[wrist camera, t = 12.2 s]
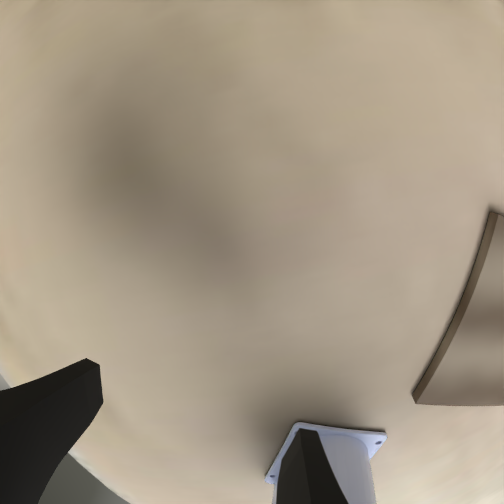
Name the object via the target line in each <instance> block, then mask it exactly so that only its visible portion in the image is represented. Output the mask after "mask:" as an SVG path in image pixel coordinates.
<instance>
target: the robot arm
mask: <svg viewBox="0 0 504 504" xmlns="http://www.w3.org/2000/svg"><path fill="white" fill-rule="evenodd" d="M102 404H103V395H102V386H101V376H100V365H99V364H97V363H95V362H93V361H91V360H89V359H87V358H86V359H83V360H81V361H78V362H76V363H74V364H72V365H69V366H67V367H65V368H63V369H60V370H58V371H56V372H53V373H51V374H49V375H46V376H44V377H41V378H39V379H36V380H34V381H31V382H28V383H25V384H22V385H19V386H16V387H13V388H10V389H6V390H2V391H0V504H38V501H39V499H40V497H41V495H42V493H43V491H44V489H45V487H46V485H47V483H48V481H49V480H50V478H51V476H52V475H53V473H54V471H55V469H56V468H57V466H58V464H59V463H60V462H61V460H62V459H63V457H64V456H65V455H66V454H67V453H68V451H69V450H70V449H71V448H72V446H73V445H74V444H75V443H76V441H77V440H78V439H79V438H80V436H81V435H82V434H83V433H84V431H85V430H86V429H87V428H88V426H89V425H90V424H91V422H92V421H93V419H94V418H95V416H96V414H97V413H98V411H99V409H100V407H101V406H102ZM386 439H387V434H386V433H384V432H373V431H361V430H352V429H343V428H335V427H328V426H321V425H315V424H308V423H303V422H298V423H295V424H294V425H293V427H292V429H291V431H290V433H289V435H288V437H287V439H286V441H285V442H284V444H283V446H282V448H281V450H280V452H279V454H278V455H277V457H276V459H275V461H274V463H273V464H272V466H271V468H270V470H269V471H268V473H267V475H266V477H265V482H267V483H270V484H274V492H273V500H272V504H376V496H375V490H374V483H373V477H372V471H371V465H370V459H371V458H372V457H373V455H374V454H375V453H376V452H377V451H378V449H379V448H380V447H381V445H382V444H383V443H384V442H385V440H386Z"/></svg>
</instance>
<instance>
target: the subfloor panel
mask: <svg viewBox="0 0 504 504" xmlns="http://www.w3.org/2000/svg"><path fill="white" fill-rule="evenodd" d="M412 397H413V399H414V401H415V404H426V405H445V406H501V405H504V217H503V216H501V215H499V214H496V213H492V212H490V214H489V218H488V222H487V225H486V229H485V233H484V236H483V240H482V243H481V246H480V249H479V253H478V256H477V259H476V262H475V265H474V268H473V270H472V273H471V276H470V279H469V281H468V284H467V287H466V289H465V292H464V294H463V297H462V299H461V302H460V304H459V306H458V309H457V311H456V313H455V316H454V318H453V320H452V322H451V324H450V327H449V329H448V331H447V333H446V335H445V337H444V339H443V341H442V343H441V345H440V347H439V349H438V351H437V353H436V355H435V357H434V358H433V360H432V362H431V364H430V366H429V368H428V369H427V371H426V373H425V375H424V376H423V378H422V380H421V381H420V383H419V385H418V386H417V388H416V390H415V391H414V393H413V395H412Z"/></svg>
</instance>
